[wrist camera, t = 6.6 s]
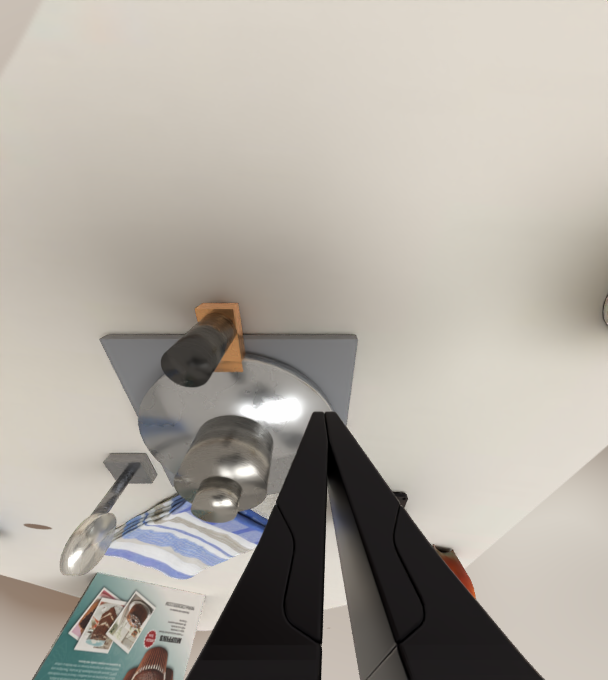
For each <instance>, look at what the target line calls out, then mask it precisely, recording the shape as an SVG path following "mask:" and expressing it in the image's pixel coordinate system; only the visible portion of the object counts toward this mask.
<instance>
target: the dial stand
mask: <svg viewBox="0 0 608 680" xmlns="http://www.w3.org/2000/svg"><path fill="white" fill-rule="evenodd" d="M103 463H104V464H105V466H106V467H107V468H108V470H109V471H110V473H111V474H112V476H113V477H114V478H115V480H116V482H115V483H114V484H113V486H112V487H111V488H110V490H109V491H108V492H107V494H106V495H105V497H104V498H103V499H102V501H101V502H100V503H99V505H98V506H97V507H96V509H95V510H94V511H93V513H92V514H91V515H90V516H89V517H88V518H87V519H85V520H84V521H83V522H82V523H81V524H80V525H79V526H78V527H77V528H76V530H75V531H74V532H73V534H72V535H71V537H70V538H69V540H68V542H67V543H66V545H65V548H64V550H63V552H62V555H61V559H60V571H61V573H62V574H63V575H66V576H80V575H84V574H86V573H88V572H89V571H90V570H92V569H93V568H94V567H95V566H96V565H97V564H98V563H99V561H100V560H101V559H102V557H103V556H104V554H105V553H106V551H107V550H108V548H109V546H110V544H111V542H112V539H113V537H114V534H115V530H116V517H115V515H114V514H112V513H108V512H109V511H110V510H111V508H112V507H113V505H114V504H115V502H116V501H117V499H118V498H119V496H120V495H121V493H122V492H123V491H124V489H125V488H126V486H127V485H128V483H153V481H154V479H155V478H156V476H157V473H156V472H155V470H154V468H153V466H152V464H151V462H150V460H149V458H148V456H147V455H146V454H110V455H109V456H108V457H107V458H106V460H105V461H104V462H103Z"/></svg>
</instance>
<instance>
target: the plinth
mask: <svg viewBox="0 0 608 680" xmlns="http://www.w3.org/2000/svg"><path fill="white" fill-rule="evenodd" d="M183 336H184V335H106V336H104V337H102V338H101V339H99V340H100V342H101V344H102V346H103V348H104V350H105V352H106V354H107V356H108V358H109V360H110V362H111V364H112V366H113V368H114V370H115V372H116V374H117V376H118V378H119V380H120V382H121V384H122V386H123V388H124V390H125V392H126V394H127V396H128V398H129V400H130V402H131V404H132V406H133V408H134V410H135V412H136V414H137V416H138V414H139V408H140V405H141V403H142V400H143V398H144V396H145V395H146V393H147V392H148V391H149V389H150V388H151V387H152V386H153V385H154V384H155V383H156V382H157V381H158V380H159V379H160V378H161V377H162V376H163V375H164V372H163V370H162V367H161V358H162V356H163V354H164V353H165V352H166V351H167V350H168V349H169V348H170V347H172V346H173V345H174V344H175V343H176V342H177V341H178V340H179V339H180V338H182V337H183ZM243 339H244V346H245V353H246V354H252V355H258V356H262V357H266V358H269V359H273V360H276V361H278V362H281V363H283V364H286V365H288V366H290V367H292V368H294V369H295V370H297V371H299V372H301V373H302V374H303V375H305V376H306V377H308V378H309V379H310V380H312V381H313V382H314V383H315V384H316V385H317V386H318V387H319V388H320V389H321V390H322V392H323V393H324V394H325V395H326V397H327V399H328V400H329V402H330V404H331V406H332V408H333V411H334V412H336V413H337V414H338V416H339V417H340V418H341V420H342V421H343V423H344V424H345V426H346V425H347V417H348V410H349V402H350V395H351V387H352V380H353V372H354V365H355V357H356V350H357V342H358V339H357V337H356V335H243ZM162 466H163V465H162ZM163 468H164V470H165V472H166V474H167V476H168V478H169V480H170V483H171V485H172V486H174V477H175V475H176V474H174V473H172V472H171V471H170V470H168V469H167V468H166V467H164V466H163Z"/></svg>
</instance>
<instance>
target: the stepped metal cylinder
mask: <svg viewBox="0 0 608 680" xmlns="http://www.w3.org/2000/svg"><path fill="white" fill-rule="evenodd" d="M272 453H273V438H272V436H271V434H270V433H269V431H268V430H267V429H266V428H265V427H264V426H262V425H261V424H259V423H258V422H256V421H254V420H252V419H249V418H246V417H242V416H234V415H225V416H219V417H215V418H212V419H210V420H208V421H206V422H205V423H204V424H203V425H202V426H201V427H200V428H199V430H198V432H197V434H196V436H195V438H194V440H193V442H192V444H191V446H190V448H189V450H188V451H187V453H186V455H185V457H184V459H183V461H182V463H181V465H180V467H179V469H178V471H177V473H176V475H175V477H174V487H175V489H176V491H177V492H178V494H179V495H180V496H181V497H182V498H184V499H185V500H186V501H188V502H190V503H191V504H192V505H191V512H192V514H193V515H194V516H195V517H197V518H198V519H201V520H203V521H206V522H212V523H224V522H229V521H231V520H233V519H234V518H235V517H236V516H237V512H239V511H245V510H248V509H251V508H254V507H256V506H257V505H259V504H260V503H261V502H262V501H263V500H264V499H265V497H266V495H267V489H268V482H269V474H270V467H271V460H272Z"/></svg>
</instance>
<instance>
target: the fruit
mask: <svg viewBox="0 0 608 680" xmlns="http://www.w3.org/2000/svg"><path fill="white" fill-rule="evenodd" d="M433 547H434V549H435V550H436V552H437V553H438V554H439V555H440V557H441V558H442V559H443V560H444V562H445V563H446V564H447V565H448V566H449V568H450V569H451V570H452V571H453V573H454V574H455V575H456V576H457V577H458V579H459V580H460V581H461V582H462V583H463V585H464V586H465V587H466V588H467V589H468V591H469V592H470V593H471V594H472V595H473V597H474V598H475V592H474V588H473V585H472V582H471V580H470V578H469V576H468V575H467V573H466V571H465V570H464V568H463V566H462V564H461V563H460V561H459V559H458V558H457V556H456V555H455V553H454V551H453V550H452V551H451V552H447V553H442V552H440V551H438V550H437V549H436V547H435V545H434V544H433ZM475 599H476V598H475Z"/></svg>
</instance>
